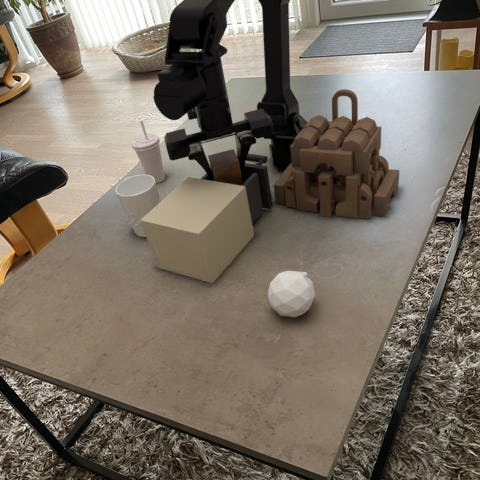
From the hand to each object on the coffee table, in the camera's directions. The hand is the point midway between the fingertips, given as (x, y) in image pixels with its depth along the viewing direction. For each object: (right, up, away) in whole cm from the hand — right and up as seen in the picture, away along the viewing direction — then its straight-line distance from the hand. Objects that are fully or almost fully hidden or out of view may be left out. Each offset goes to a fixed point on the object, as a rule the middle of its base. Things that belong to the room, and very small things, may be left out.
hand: (227, 177), depth 91 cm
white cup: (-16, -8, +9) cm, 20 cm away
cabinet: (-4, -14, 0) cm, 14 cm away
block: (0, -1, +1) cm, 1 cm away
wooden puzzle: (+22, -2, +6) cm, 23 cm away
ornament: (+11, -25, -14) cm, 31 cm away
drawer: (+2, -5, +6) cm, 8 cm away
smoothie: (-17, +6, +24) cm, 30 cm away
